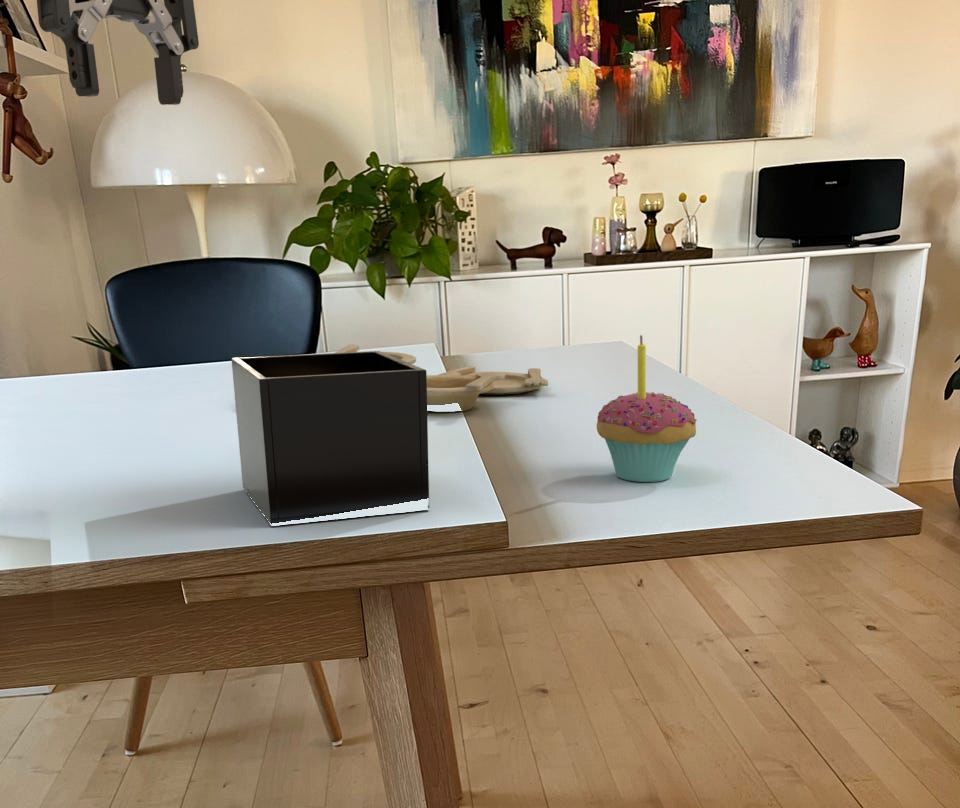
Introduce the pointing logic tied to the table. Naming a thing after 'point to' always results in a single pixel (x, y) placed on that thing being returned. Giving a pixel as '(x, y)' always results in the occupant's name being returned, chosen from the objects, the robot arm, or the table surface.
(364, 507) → the trash can
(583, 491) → the table surface
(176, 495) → the table surface
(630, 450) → the cupcake
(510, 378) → the tableware set
